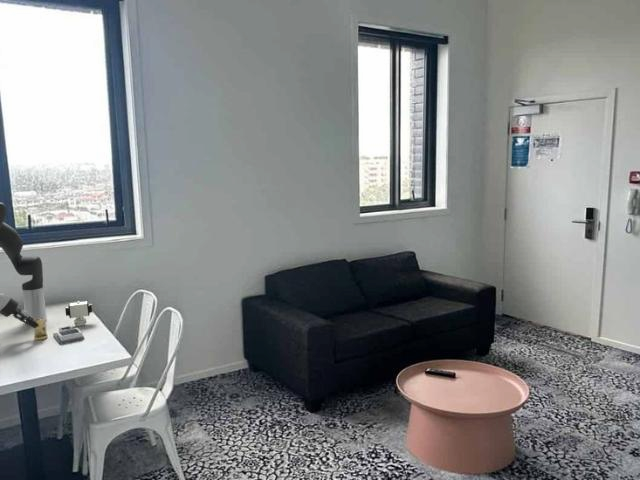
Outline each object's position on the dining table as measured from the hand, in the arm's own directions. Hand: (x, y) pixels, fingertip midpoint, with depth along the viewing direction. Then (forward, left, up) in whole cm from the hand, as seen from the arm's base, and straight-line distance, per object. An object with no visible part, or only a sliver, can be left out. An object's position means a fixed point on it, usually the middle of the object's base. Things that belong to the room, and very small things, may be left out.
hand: (35, 324), depth 236 cm
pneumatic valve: (-10, +21, -7) cm, 24 cm away
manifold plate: (+7, +12, -7) cm, 15 cm away
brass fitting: (0, +2, -7) cm, 7 cm away
